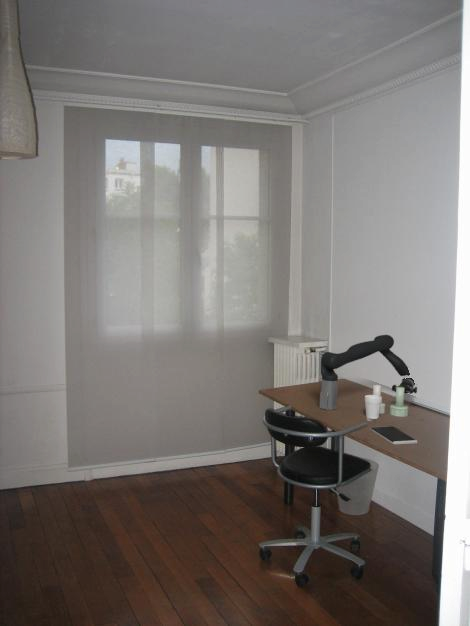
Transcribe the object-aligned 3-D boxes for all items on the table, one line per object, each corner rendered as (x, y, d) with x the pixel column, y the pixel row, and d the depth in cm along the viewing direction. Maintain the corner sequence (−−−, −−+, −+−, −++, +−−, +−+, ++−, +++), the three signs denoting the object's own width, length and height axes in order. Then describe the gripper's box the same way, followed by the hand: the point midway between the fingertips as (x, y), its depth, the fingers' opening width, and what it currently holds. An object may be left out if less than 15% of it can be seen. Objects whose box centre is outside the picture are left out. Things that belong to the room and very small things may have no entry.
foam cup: (368, 416, 369) (369, 394, 368) (383, 419, 363) (384, 396, 362) (360, 419, 362) (361, 396, 360) (375, 423, 356) (376, 399, 354)
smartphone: (392, 428, 348) (392, 425, 348) (418, 444, 322) (418, 440, 322) (369, 430, 345) (369, 426, 345) (393, 445, 319) (393, 442, 319)
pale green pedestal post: (400, 420, 363) (401, 390, 361) (386, 416, 371) (387, 386, 369) (411, 417, 369) (413, 388, 367) (397, 413, 377) (399, 384, 375)
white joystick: (376, 417, 368) (378, 387, 366) (363, 413, 376) (364, 384, 374) (388, 414, 374) (389, 385, 372) (374, 410, 382) (376, 382, 380)
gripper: (395, 378, 396) (390, 383, 381) (419, 381, 391) (415, 386, 376) (394, 390, 397) (390, 396, 382) (418, 393, 391) (415, 399, 377)
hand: (402, 391), depth 379 cm, fingers open, 8 cm apart
